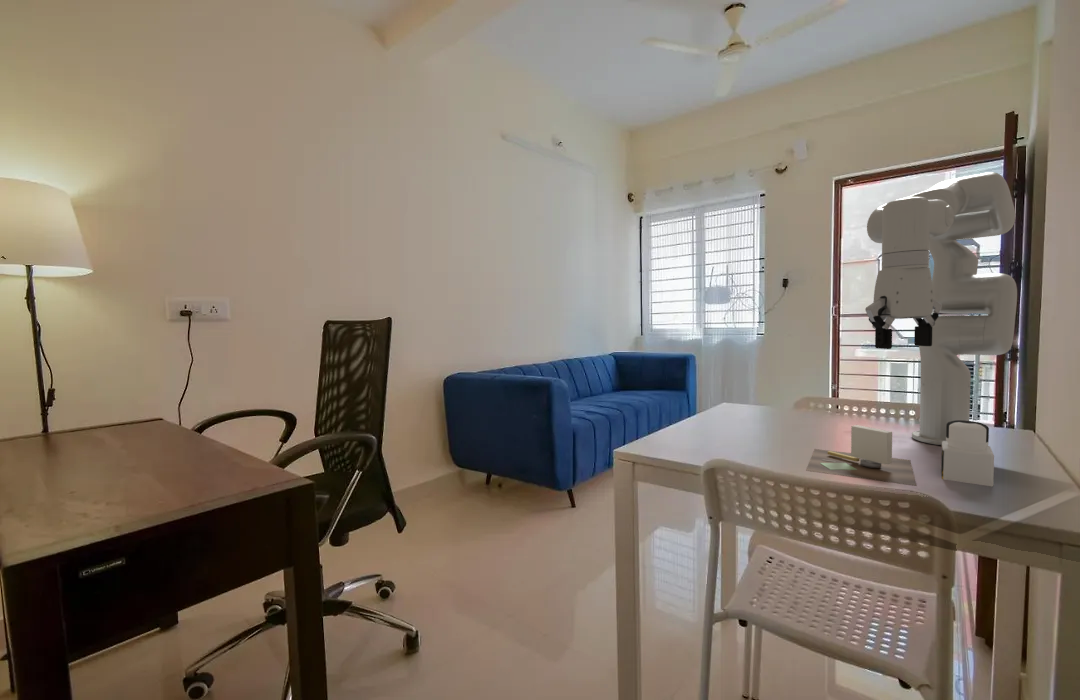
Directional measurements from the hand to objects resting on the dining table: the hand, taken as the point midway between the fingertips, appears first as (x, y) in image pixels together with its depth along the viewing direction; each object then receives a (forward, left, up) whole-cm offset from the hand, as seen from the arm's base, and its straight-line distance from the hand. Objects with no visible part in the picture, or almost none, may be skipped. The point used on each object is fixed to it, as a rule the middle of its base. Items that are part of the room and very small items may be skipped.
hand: (903, 347), depth 96 cm
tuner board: (+2, -7, -26) cm, 27 cm away
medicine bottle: (+1, +10, -26) cm, 28 cm away
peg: (+1, -7, -25) cm, 26 cm away
